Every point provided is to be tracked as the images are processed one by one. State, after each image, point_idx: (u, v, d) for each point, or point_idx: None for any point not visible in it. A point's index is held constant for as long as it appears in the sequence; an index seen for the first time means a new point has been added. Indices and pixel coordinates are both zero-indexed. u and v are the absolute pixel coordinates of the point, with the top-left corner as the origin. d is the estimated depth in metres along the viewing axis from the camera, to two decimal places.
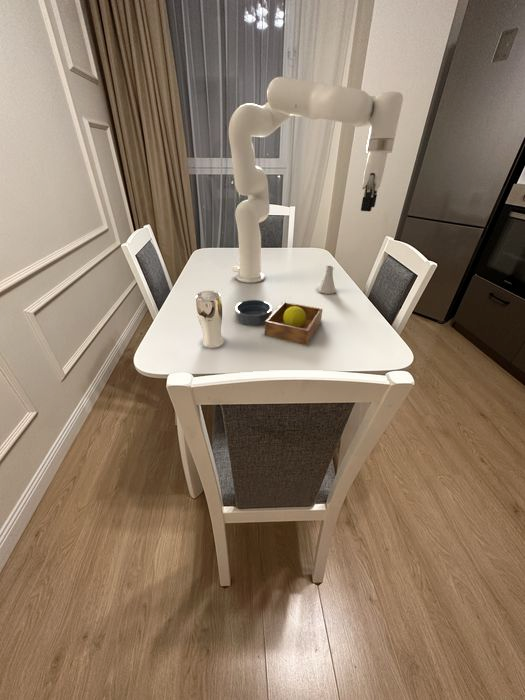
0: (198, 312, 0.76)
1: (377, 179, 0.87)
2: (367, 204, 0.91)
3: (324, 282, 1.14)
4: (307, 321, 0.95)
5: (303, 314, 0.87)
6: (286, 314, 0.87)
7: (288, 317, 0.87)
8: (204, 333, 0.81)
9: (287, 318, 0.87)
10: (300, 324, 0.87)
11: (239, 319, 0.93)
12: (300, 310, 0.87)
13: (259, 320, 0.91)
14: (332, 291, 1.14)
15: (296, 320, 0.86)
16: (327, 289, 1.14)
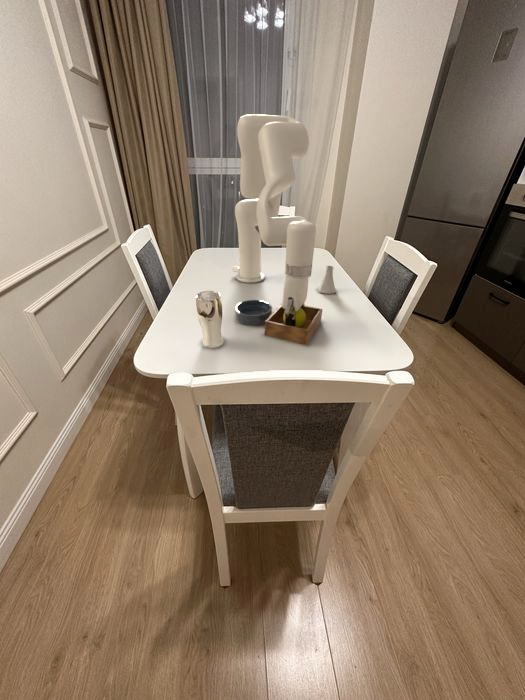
0: (198, 312, 0.76)
1: (296, 303, 0.81)
2: (290, 325, 0.86)
3: (324, 282, 1.14)
4: (307, 321, 0.95)
5: (303, 314, 0.87)
6: None
7: None
8: (204, 333, 0.81)
9: None
10: (300, 324, 0.87)
11: (239, 319, 0.93)
12: (300, 310, 0.87)
13: (259, 320, 0.91)
14: (332, 291, 1.14)
15: (296, 320, 0.86)
16: (327, 289, 1.14)
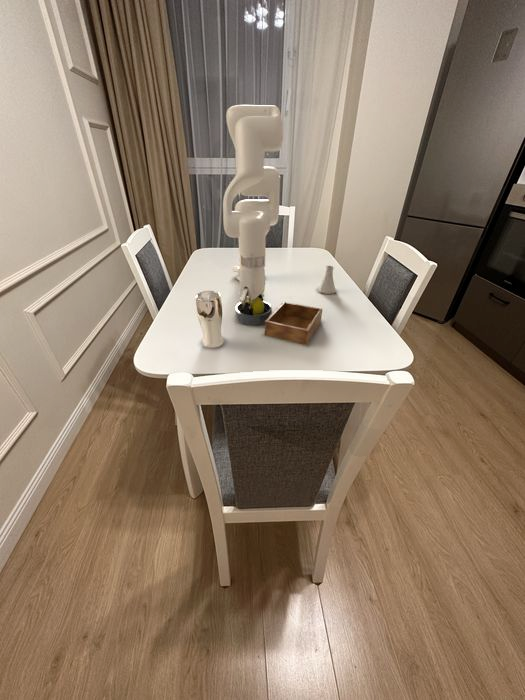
0: (198, 312, 0.76)
1: (251, 292, 0.87)
2: (247, 313, 0.91)
3: (324, 282, 1.14)
4: (307, 321, 0.95)
5: (260, 303, 0.93)
6: None
7: None
8: (204, 333, 0.81)
9: None
10: (258, 313, 0.93)
11: (239, 319, 0.93)
12: (258, 299, 0.93)
13: (259, 320, 0.91)
14: (332, 291, 1.14)
15: (254, 309, 0.92)
16: (327, 289, 1.14)
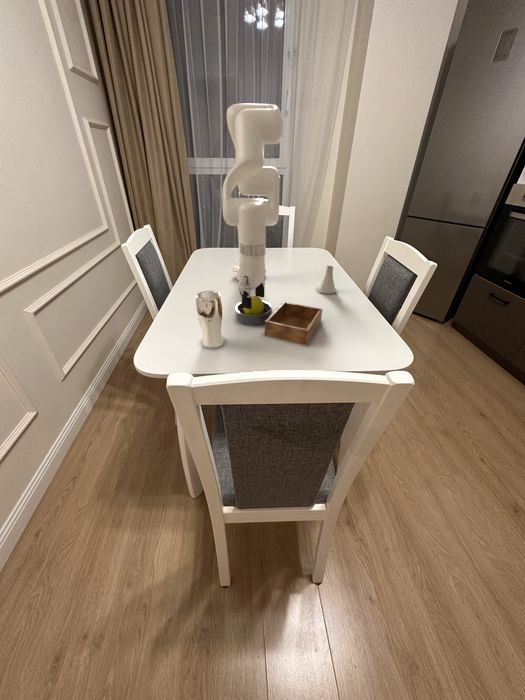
0: (198, 312, 0.76)
1: (251, 282, 0.85)
2: (246, 303, 0.89)
3: (324, 282, 1.14)
4: (307, 321, 0.95)
5: (260, 303, 0.93)
6: None
7: None
8: (204, 333, 0.81)
9: None
10: (257, 312, 0.94)
11: (239, 319, 0.93)
12: (257, 299, 0.93)
13: (259, 320, 0.91)
14: (332, 291, 1.14)
15: (253, 309, 0.92)
16: (327, 289, 1.14)
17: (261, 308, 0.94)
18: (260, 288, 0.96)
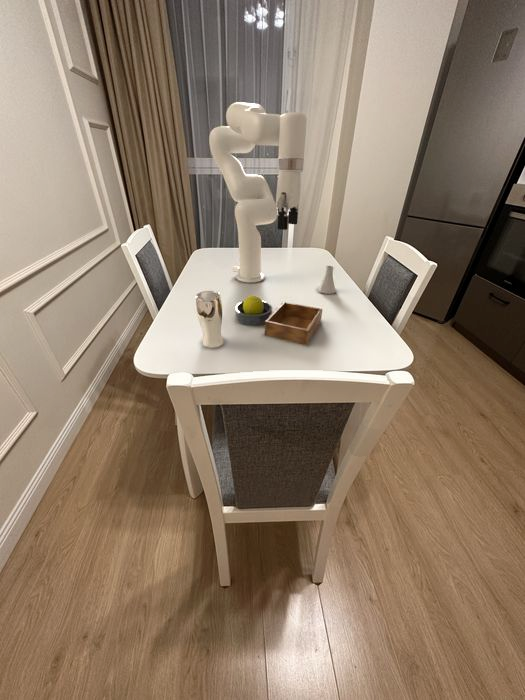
0: (198, 312, 0.76)
1: (288, 198, 0.86)
2: (282, 223, 0.90)
3: (324, 282, 1.14)
4: (307, 321, 0.95)
5: (260, 303, 0.93)
6: (244, 303, 0.94)
7: (246, 305, 0.93)
8: (204, 333, 0.81)
9: (245, 307, 0.93)
10: (257, 312, 0.94)
11: (239, 319, 0.93)
12: (257, 299, 0.93)
13: (259, 320, 0.91)
14: (332, 291, 1.14)
15: (253, 309, 0.92)
16: (327, 289, 1.14)
17: (261, 308, 0.94)
18: (294, 214, 0.97)
